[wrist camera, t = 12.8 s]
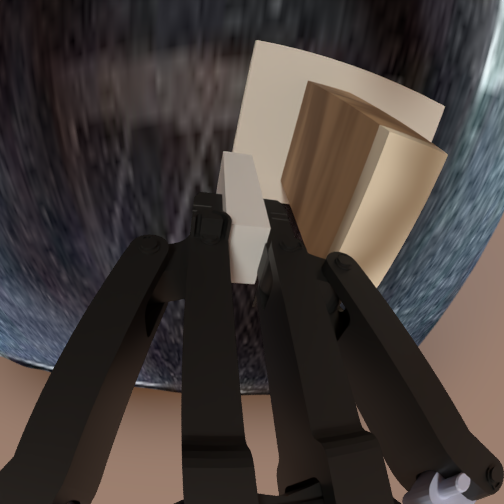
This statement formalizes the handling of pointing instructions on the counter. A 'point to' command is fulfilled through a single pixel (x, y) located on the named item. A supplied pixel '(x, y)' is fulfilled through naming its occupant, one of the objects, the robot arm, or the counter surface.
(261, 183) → the felt mat
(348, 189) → the beige rectangular box
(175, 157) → the counter surface
